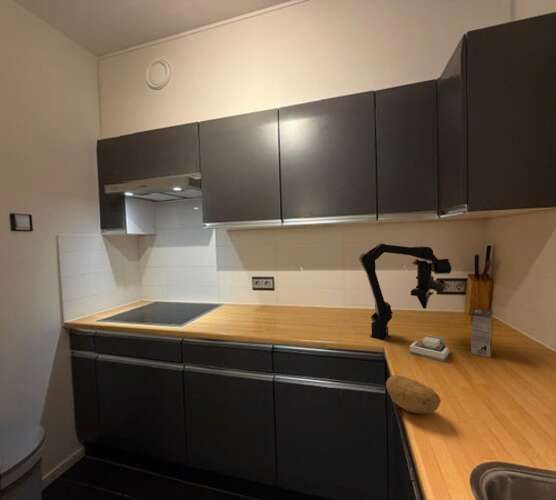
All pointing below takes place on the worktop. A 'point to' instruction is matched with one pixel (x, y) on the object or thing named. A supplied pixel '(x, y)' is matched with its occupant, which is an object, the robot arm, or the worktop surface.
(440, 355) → the dock
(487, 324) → the coffee box
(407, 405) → the potato
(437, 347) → the trolley
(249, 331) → the worktop surface
